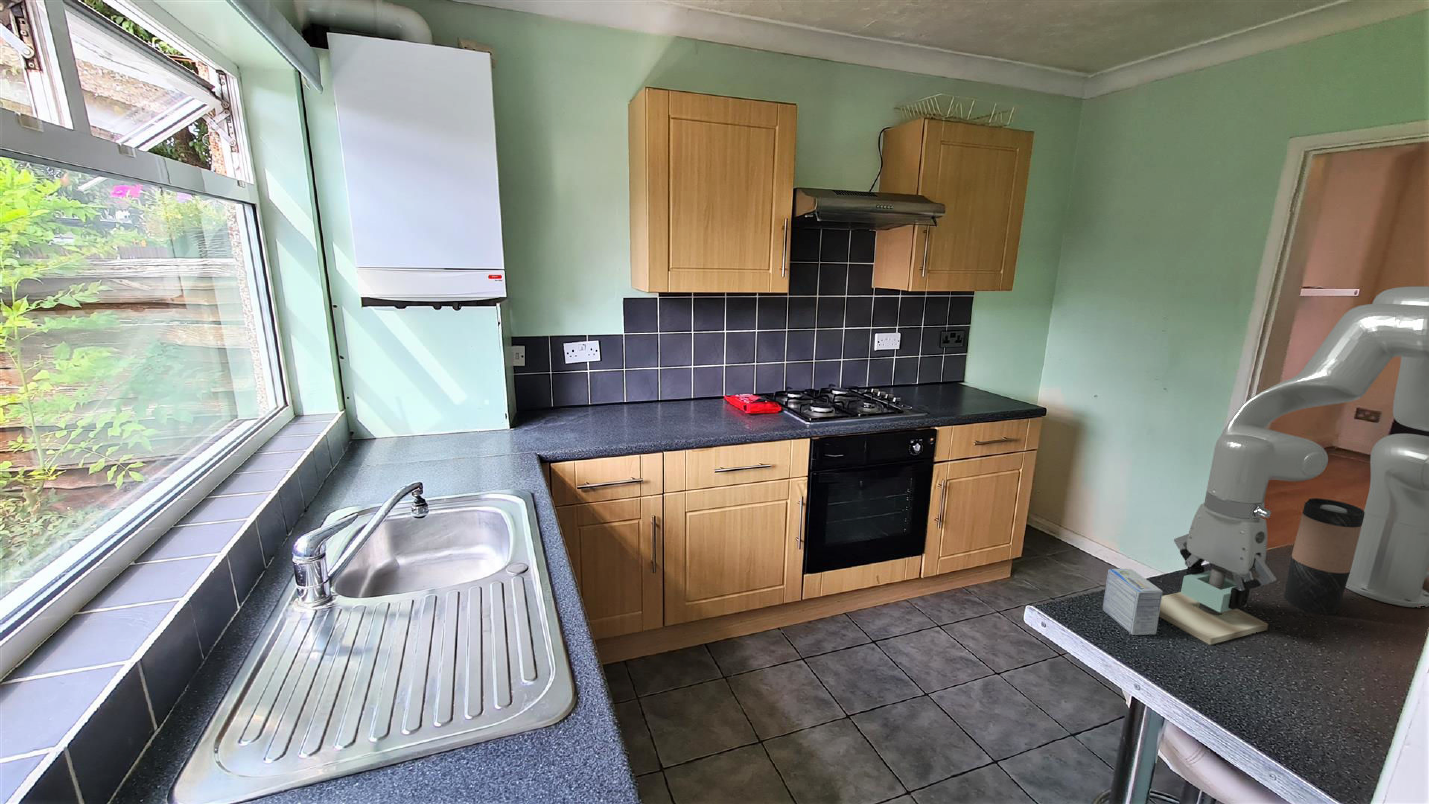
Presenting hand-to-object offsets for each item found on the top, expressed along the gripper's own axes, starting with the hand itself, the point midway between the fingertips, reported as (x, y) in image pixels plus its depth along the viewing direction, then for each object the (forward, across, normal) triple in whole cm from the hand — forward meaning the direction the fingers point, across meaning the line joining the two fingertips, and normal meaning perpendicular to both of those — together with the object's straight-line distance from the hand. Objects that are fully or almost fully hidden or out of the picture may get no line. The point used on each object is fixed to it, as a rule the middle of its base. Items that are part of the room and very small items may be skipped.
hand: (1213, 595), depth 104 cm
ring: (+1, 0, 0) cm, 1 cm away
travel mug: (+4, -3, -22) cm, 23 cm away
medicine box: (+4, +3, +16) cm, 17 cm away
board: (+4, 0, +2) cm, 5 cm away
